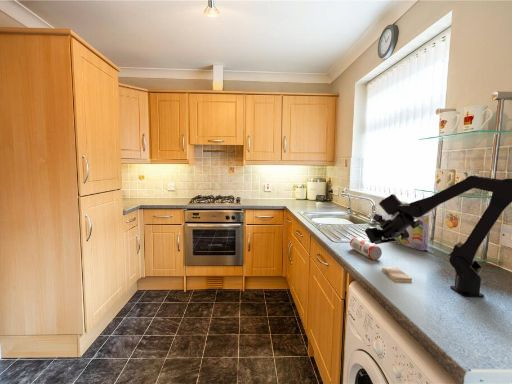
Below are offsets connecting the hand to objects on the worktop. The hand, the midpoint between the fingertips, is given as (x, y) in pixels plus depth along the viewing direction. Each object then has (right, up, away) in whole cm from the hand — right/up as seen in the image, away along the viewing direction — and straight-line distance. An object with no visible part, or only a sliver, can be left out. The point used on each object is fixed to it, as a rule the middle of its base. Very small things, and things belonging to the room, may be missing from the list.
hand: (375, 243), depth 114 cm
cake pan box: (+27, -6, +23) cm, 35 cm away
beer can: (+1, -5, 0) cm, 5 cm away
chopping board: (+1, -9, -15) cm, 17 cm away
